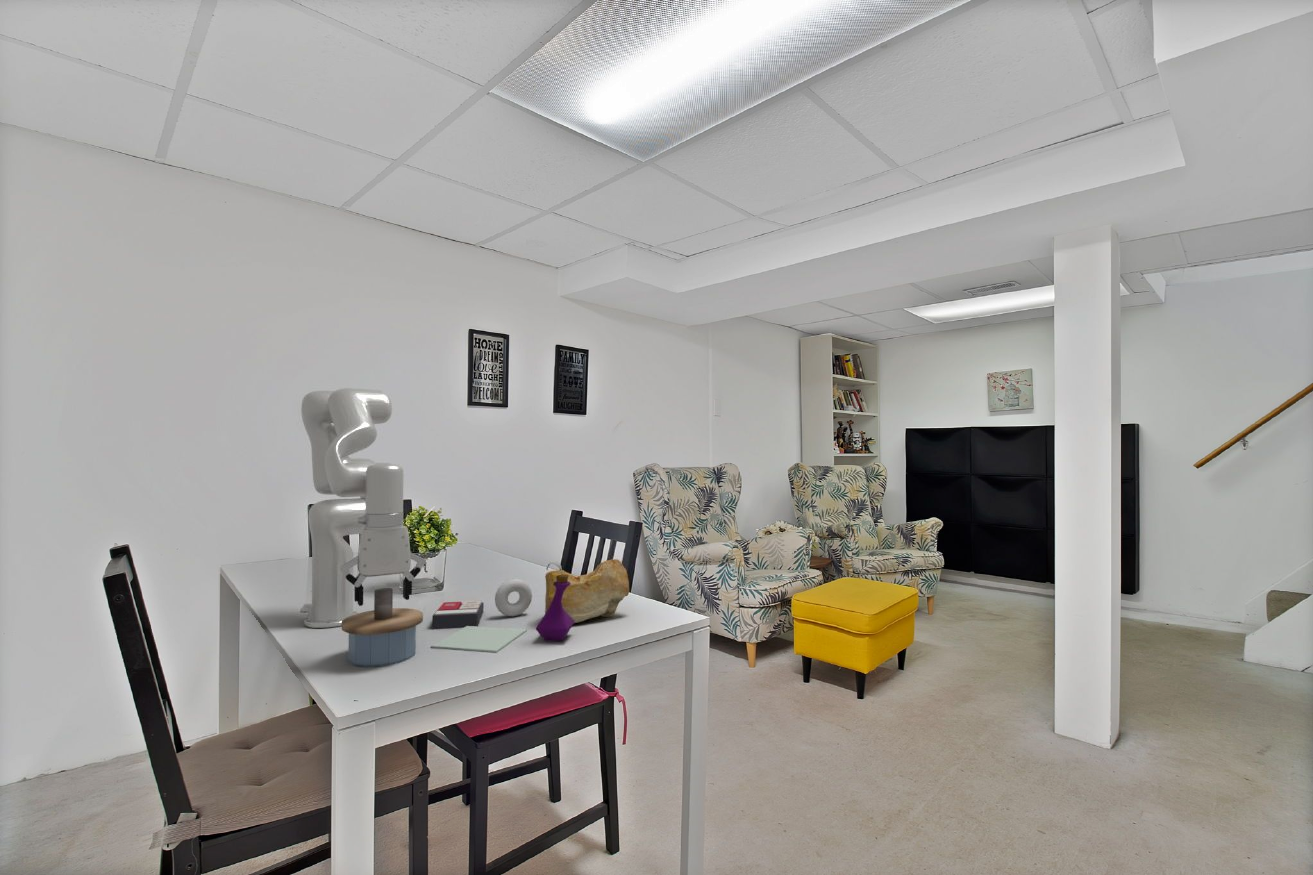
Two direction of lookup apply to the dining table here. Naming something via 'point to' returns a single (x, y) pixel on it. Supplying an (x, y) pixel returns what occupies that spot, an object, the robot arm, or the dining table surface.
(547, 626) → the perfume bottle
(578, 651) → the dining table surface
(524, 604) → the donut
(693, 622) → the dining table surface
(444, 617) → the flat rectangular box
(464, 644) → the mat
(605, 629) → the dining table surface
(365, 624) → the lid
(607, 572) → the rough brown rock
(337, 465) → the robot arm
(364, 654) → the bowl
